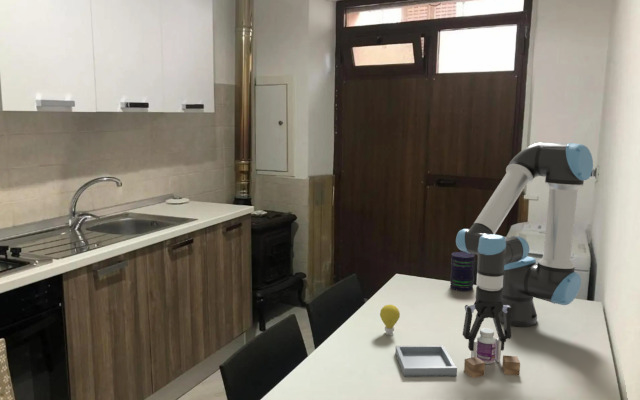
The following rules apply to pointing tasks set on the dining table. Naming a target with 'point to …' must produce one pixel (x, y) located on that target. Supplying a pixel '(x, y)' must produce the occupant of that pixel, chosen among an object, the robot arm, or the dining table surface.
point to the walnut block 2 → (511, 365)
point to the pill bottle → (486, 346)
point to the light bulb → (389, 317)
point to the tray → (425, 361)
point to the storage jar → (462, 271)
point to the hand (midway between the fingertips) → (485, 360)
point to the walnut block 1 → (474, 367)
